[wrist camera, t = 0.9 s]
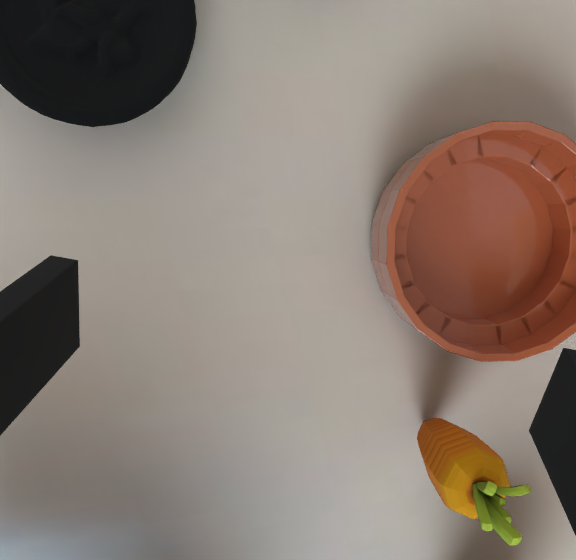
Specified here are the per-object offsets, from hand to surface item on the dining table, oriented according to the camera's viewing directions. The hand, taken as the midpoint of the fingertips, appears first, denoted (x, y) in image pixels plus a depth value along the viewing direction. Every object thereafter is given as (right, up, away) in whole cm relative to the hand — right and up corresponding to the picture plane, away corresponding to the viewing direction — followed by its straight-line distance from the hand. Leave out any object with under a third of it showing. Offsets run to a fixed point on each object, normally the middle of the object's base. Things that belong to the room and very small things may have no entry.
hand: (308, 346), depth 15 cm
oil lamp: (-16, +22, +26) cm, 38 cm away
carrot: (+11, -11, +32) cm, 36 cm away
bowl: (+15, +5, +30) cm, 34 cm away
